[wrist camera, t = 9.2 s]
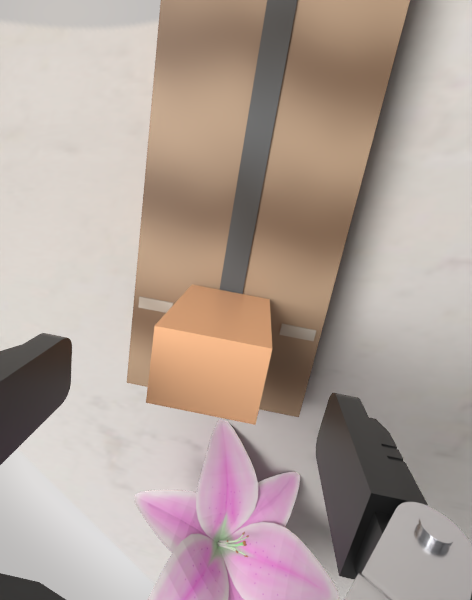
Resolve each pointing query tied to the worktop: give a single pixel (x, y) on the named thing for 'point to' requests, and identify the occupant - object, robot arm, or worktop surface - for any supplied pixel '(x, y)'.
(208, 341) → the fader knob
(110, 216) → the worktop surface
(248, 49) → the fader base
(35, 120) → the worktop surface
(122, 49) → the worktop surface
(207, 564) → the lily
